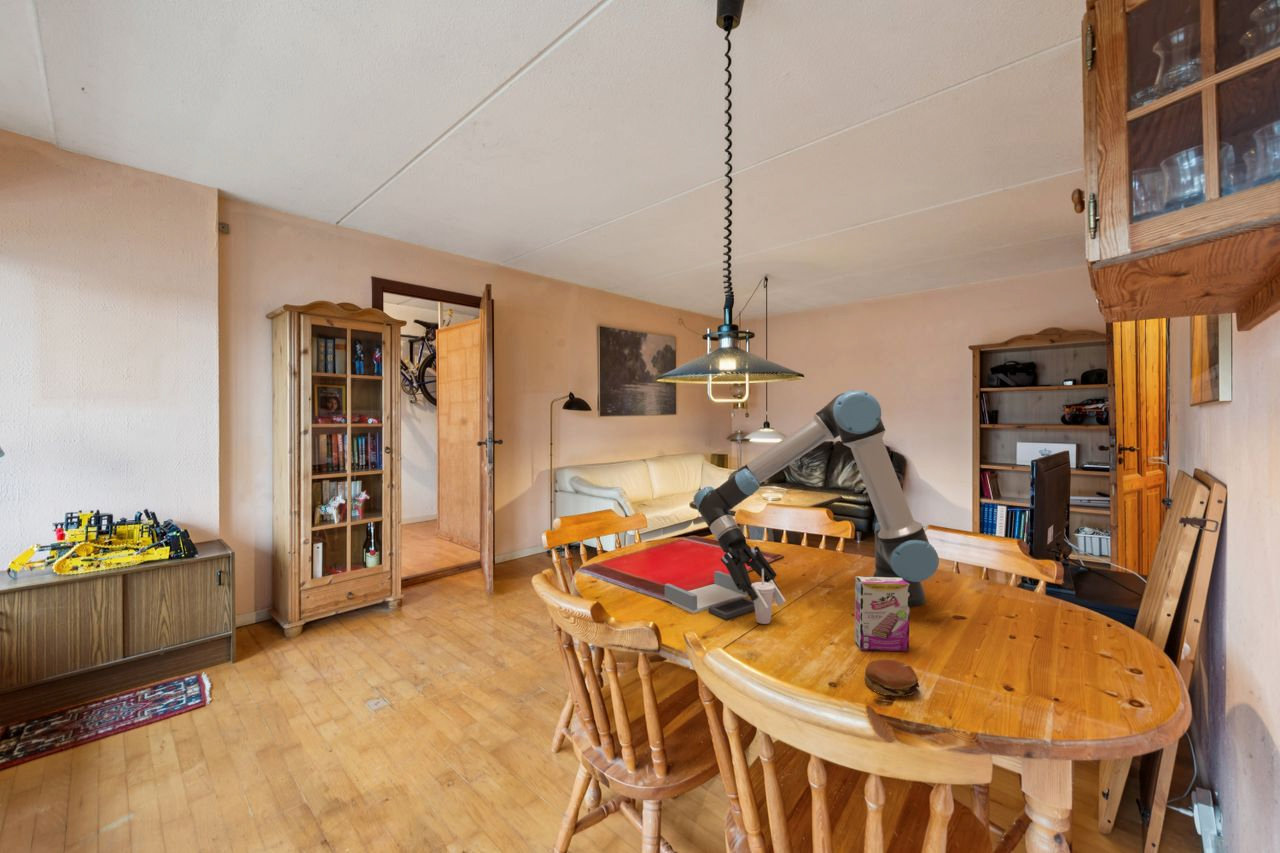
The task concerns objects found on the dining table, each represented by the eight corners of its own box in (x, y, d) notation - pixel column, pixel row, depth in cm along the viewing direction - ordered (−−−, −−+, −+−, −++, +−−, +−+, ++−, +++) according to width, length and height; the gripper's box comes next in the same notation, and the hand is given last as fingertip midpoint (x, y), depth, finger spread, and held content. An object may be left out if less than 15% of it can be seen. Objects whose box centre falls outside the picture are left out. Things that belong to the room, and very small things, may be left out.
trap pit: (760, 608, 146) (760, 603, 146) (726, 620, 138) (726, 615, 138) (742, 601, 152) (742, 596, 152) (708, 612, 144) (708, 607, 144)
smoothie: (776, 617, 139) (775, 567, 138) (774, 627, 133) (773, 574, 132) (752, 615, 141) (751, 565, 140) (749, 624, 135) (749, 572, 134)
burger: (855, 684, 105) (855, 662, 105) (880, 671, 110) (880, 650, 110) (903, 707, 97) (903, 682, 96) (927, 691, 102) (927, 668, 102)
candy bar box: (861, 651, 119) (860, 582, 119) (854, 642, 124) (853, 575, 124) (910, 653, 118) (910, 583, 118) (902, 643, 123) (901, 576, 122)
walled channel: (747, 596, 156) (747, 580, 156) (693, 613, 143) (692, 596, 143) (717, 585, 167) (717, 570, 167) (664, 600, 154) (664, 584, 154)
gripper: (744, 536, 154) (789, 605, 141) (697, 547, 143) (740, 622, 130) (757, 522, 150) (804, 591, 137) (709, 531, 139) (756, 608, 126)
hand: (773, 606), depth 134 cm, fingers closed on smoothie, 6 cm apart
